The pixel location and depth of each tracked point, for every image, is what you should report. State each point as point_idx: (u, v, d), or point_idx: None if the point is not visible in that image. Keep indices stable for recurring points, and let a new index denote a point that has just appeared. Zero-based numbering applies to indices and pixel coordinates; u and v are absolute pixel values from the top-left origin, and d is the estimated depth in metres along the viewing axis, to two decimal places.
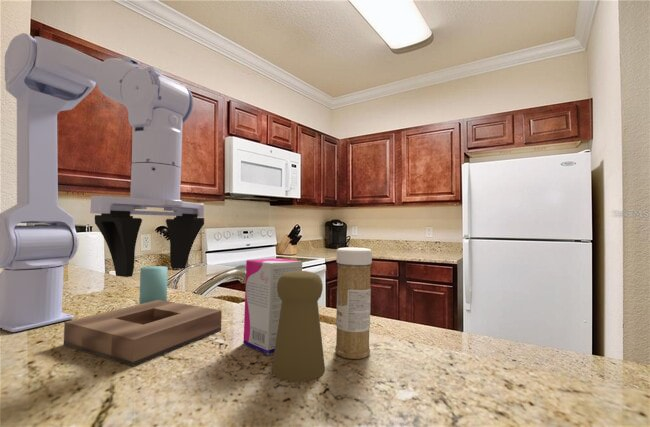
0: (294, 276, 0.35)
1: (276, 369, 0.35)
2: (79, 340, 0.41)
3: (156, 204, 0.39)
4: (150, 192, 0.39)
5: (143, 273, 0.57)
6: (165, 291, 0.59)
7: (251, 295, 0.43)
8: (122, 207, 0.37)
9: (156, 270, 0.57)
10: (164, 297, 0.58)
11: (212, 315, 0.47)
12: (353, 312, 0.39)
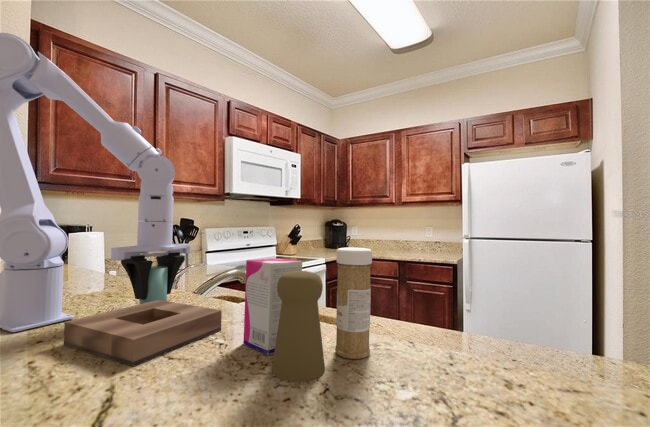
0: (294, 276, 0.35)
1: (276, 369, 0.35)
2: (79, 340, 0.41)
3: (155, 250, 0.56)
4: (151, 242, 0.56)
5: None
6: (165, 291, 0.59)
7: (251, 295, 0.43)
8: (132, 253, 0.55)
9: (156, 270, 0.57)
10: (164, 297, 0.58)
11: (212, 315, 0.47)
12: (353, 312, 0.39)
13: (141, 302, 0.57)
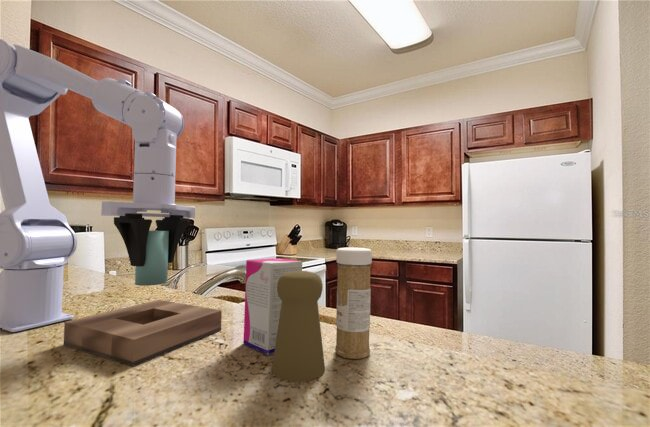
0: (294, 276, 0.35)
1: (276, 369, 0.35)
2: (79, 340, 0.41)
3: (155, 207, 0.47)
4: (149, 198, 0.47)
5: None
6: (165, 259, 0.49)
7: (251, 295, 0.43)
8: (127, 210, 0.46)
9: (154, 232, 0.48)
10: (164, 265, 0.49)
11: (212, 315, 0.47)
12: (353, 312, 0.39)
13: (137, 270, 0.48)
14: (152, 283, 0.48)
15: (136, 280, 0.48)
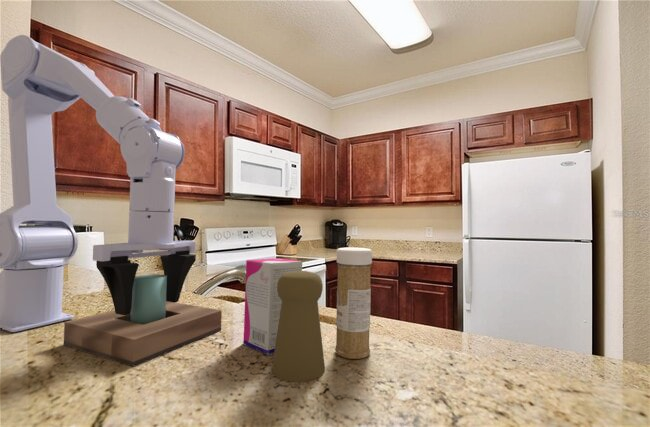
0: (294, 276, 0.35)
1: (276, 369, 0.35)
2: (79, 340, 0.41)
3: (151, 248, 0.43)
4: (145, 238, 0.43)
5: (134, 284, 0.44)
6: (163, 307, 0.46)
7: (251, 295, 0.43)
8: (121, 253, 0.42)
9: (150, 280, 0.44)
10: (161, 315, 0.45)
11: (212, 315, 0.47)
12: (353, 312, 0.39)
13: (132, 321, 0.44)
14: None
15: None
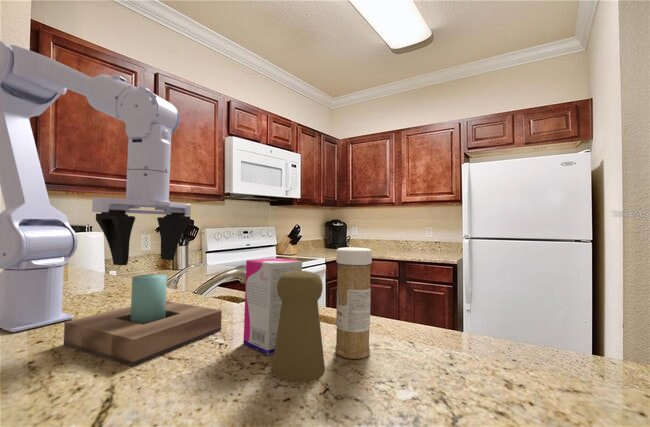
0: (294, 276, 0.35)
1: (276, 369, 0.35)
2: (79, 340, 0.41)
3: (147, 204, 0.46)
4: (142, 194, 0.46)
5: (134, 283, 0.44)
6: (163, 306, 0.46)
7: (251, 295, 0.43)
8: (119, 207, 0.45)
9: (150, 280, 0.44)
10: (161, 314, 0.46)
11: (212, 315, 0.47)
12: (353, 312, 0.39)
13: (132, 321, 0.44)
14: None
15: None
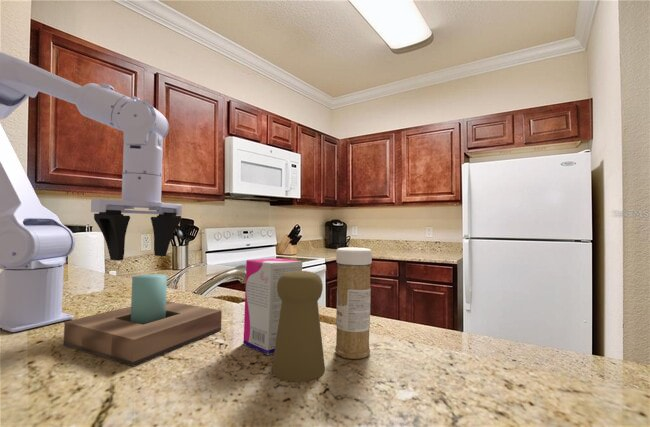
0: (294, 276, 0.35)
1: (276, 369, 0.35)
2: (79, 340, 0.41)
3: (141, 205, 0.51)
4: (136, 196, 0.51)
5: (135, 283, 0.44)
6: (163, 306, 0.46)
7: (251, 295, 0.43)
8: (115, 207, 0.49)
9: (151, 279, 0.45)
10: (162, 314, 0.46)
11: (212, 315, 0.47)
12: (353, 312, 0.39)
13: (132, 320, 0.44)
14: None
15: None
